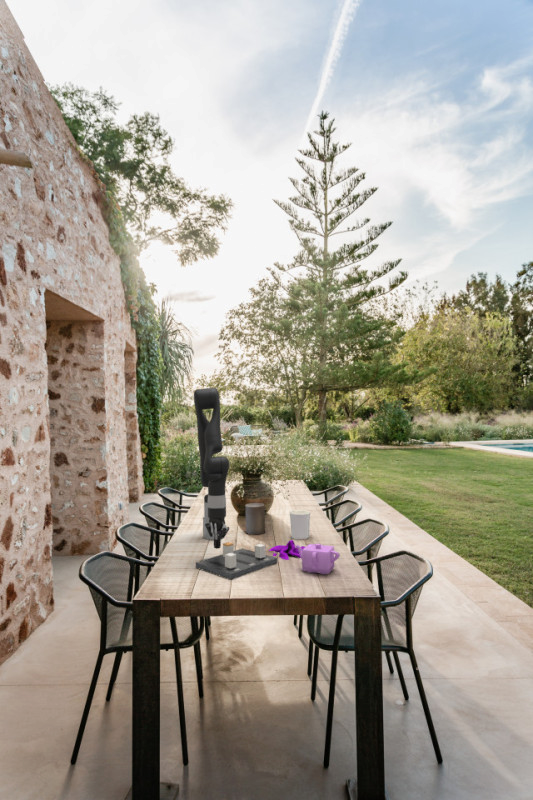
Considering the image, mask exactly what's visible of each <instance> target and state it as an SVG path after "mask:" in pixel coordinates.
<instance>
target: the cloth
mask: <svg viewBox="0 0 533 800" xmlns="http://www.w3.org/2000/svg"><path fill="white" fill-rule="evenodd" d="M294 545H296V544H295V541H294V540H293V539H291V540H289V541H288V542H287V543H286V544H285V545H283V544H281V545H275V546H273V547H271V548H270V549H269V550H268V552H269V551H275V552H272V553H273V554H272V557H274V556H275V557H277V556H278V558H280V559H283V560H285V561H289V560H290V558H289V555H290V557H291V556H292V557H295V556H296V557H295V558H298V557H299V558H298V559H300V558H301V557H300V554H299V551H298V548H297V547H296V546H294ZM300 547H301V548H302V550H303V549H304V548H305V547H306V546H303V545H302V546H300ZM278 552H279V553H278ZM277 553H278V555H277ZM276 555H277V556H276Z"/></svg>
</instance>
